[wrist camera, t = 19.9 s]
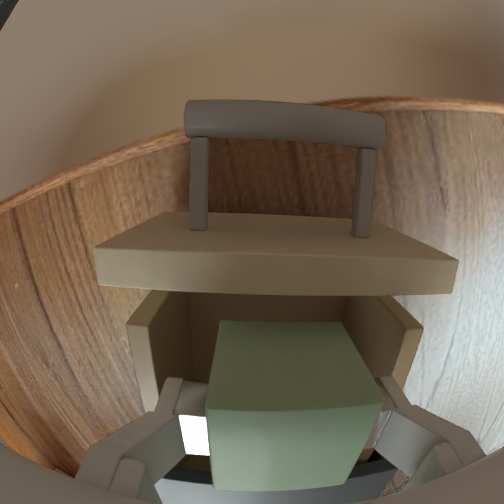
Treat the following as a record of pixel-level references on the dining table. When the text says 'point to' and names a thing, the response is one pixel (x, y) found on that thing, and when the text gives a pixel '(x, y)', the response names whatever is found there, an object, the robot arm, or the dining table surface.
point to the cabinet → (304, 500)
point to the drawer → (269, 259)
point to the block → (287, 406)
